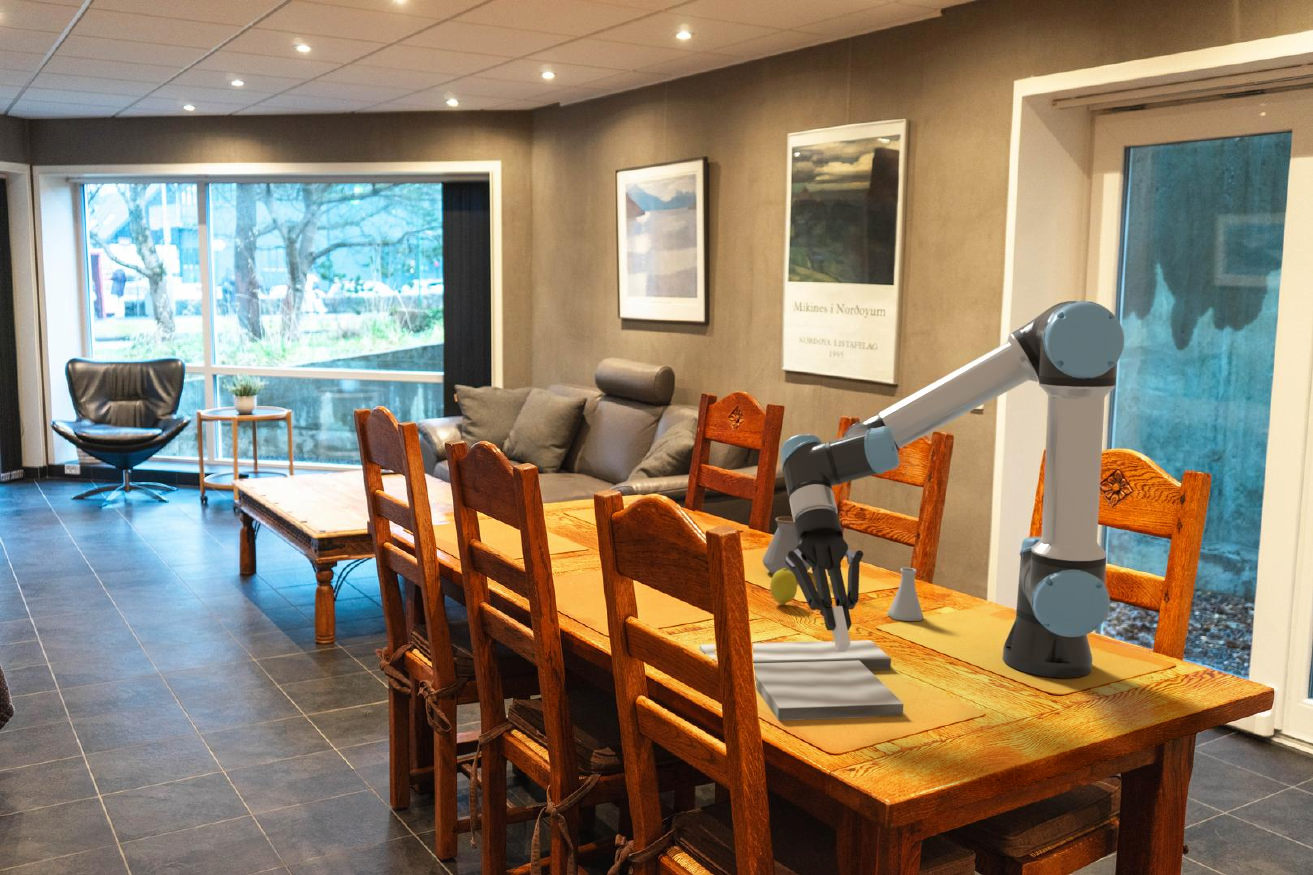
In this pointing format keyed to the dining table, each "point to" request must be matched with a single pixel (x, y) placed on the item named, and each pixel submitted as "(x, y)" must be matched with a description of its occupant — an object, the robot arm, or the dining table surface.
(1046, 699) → the dining table surface
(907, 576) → the flask
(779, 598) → the lemon
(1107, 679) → the dining table surface
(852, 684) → the panel
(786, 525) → the coffee pot
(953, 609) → the dining table surface
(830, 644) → the board
